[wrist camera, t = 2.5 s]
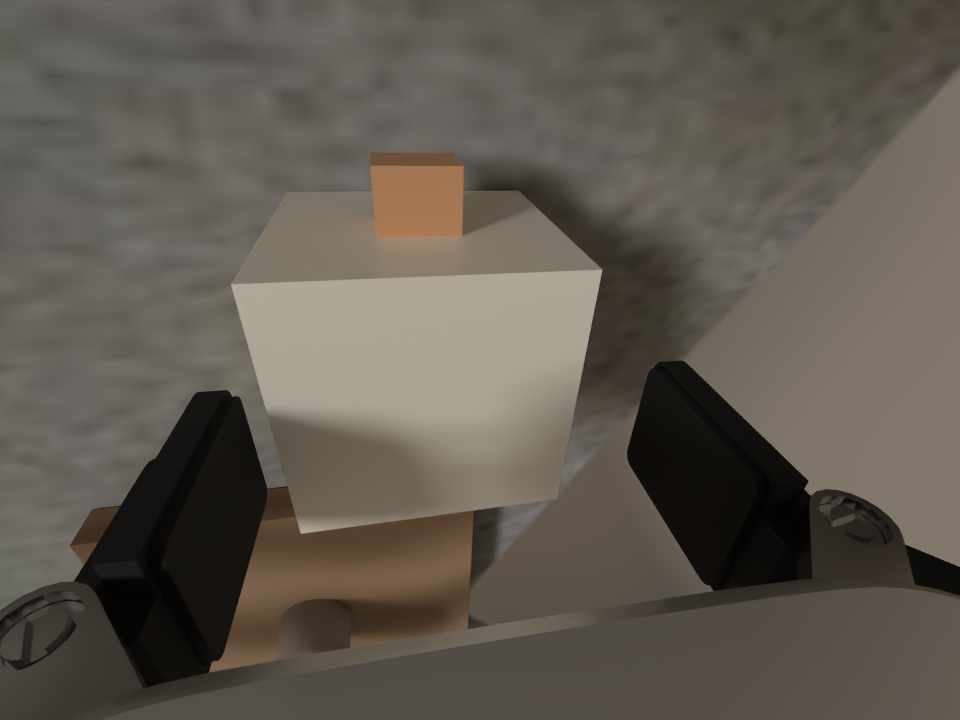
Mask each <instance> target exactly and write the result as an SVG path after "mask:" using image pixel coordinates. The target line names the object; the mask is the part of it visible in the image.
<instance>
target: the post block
mask: <svg viewBox="0 0 960 720" xmlns="http://www.w3.org/2000/svg"><path fill="white" fill-rule="evenodd" d="M119 508H120V507H112V508H103V509H95V510H91V512H90V514H89V515H88V517H87V518H86V520H85V522H84V523H83V525H82V527H81V528H80V530H79V532H78V533H77V535H76V536H75V538H74V540H73V541H72V543H71V545H70V547H71V548H72V549H73V551H74V552H75V553H76V555H77V556H78V558H79V559H80V560H81V562H82V563H83V564H85V563H86V561H87V560H88V558H89V556H90V555H91V553H92V551H93V550H94V548H95V547H96V545H97V543H98V542H99V540H100V539H101V537H102V535H103V534H104V532H105V530H106V529H107V527H108V526H109V524H110V522H111V521H112V519H113V518H114V516H115V514H116V513H117V511H118V509H119ZM473 516H474V510H473V511H466V512H458V513H451V514H443V515H436V516H429V517H421V518H414V519H406V520H399V521H392V522H384V523H377V524H369V525H362V526H355V527H347V528H340V529H332V530H325V531H318V532H310V533H303V534H301V533H300V529H299V526H298V522H297V519H296V515H295V511H294V508H293V504H292V501H291V497H290V494H289V490H288V487H283V488H275V489H267V502H266V506H265V509H264V513H263V516H262V520H261V523H260V527H259V531H258V534H257V538H256V541H255V545H254V548H253V552H252V555H251V559H250V562H249V566H248V569H247V573H246V576H245V580H244V584H243V587H242V591H241V594H240V598H239V601H238V605H237V608H236V612H235V615H234V619H233V622H232V626H231V629H230V633H229V637H228V640H227V644H226V647H225V650H224V653H223V655H222V657H221V659H220V660H219V661H213V662H212V664H211V667H210V671H209V673H210V672H215V671H220V670H226V669H231V668H237V667H243V666H248V665H254V664H259V663H265V662H271V661H276V660H282V659H287V658H293V657H299V656H304V655H310V654H316V653H322V652H328V651H334V650H340V649H347V648H353V647H359V646H365V645H371V644H378V643H384V642H390V641H396V640H402V639H409V638H415V637H421V636H427V635H433V634H440V633H446V632H452V631H458V630H465V629H468V615H469V595H470V575H471V555H472V535H473Z"/></svg>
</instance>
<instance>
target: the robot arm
mask: <svg viewBox="0 0 960 720" xmlns="http://www.w3.org/2000/svg"><path fill="white" fill-rule="evenodd" d="M627 458H628V462H629V464H630V466H631V468H632V470H633V471H634V473H635V474H636V476H637V478H638V479H639V481H640V482H641V484H642V486H643V487H644V489H645V490H646V492H647V494H648V495H649V497H650V499H651V500H652V502H653V503H654V505H655V507H656V508H657V510H658V511H659V513H660V515H661V516H662V518H663V520H664V521H665V523H666V524H667V526H668V527H669V529H670V531H671V533H672V534H673V535H674V537H675V539H676V541H677V542H678V544H679V545H680V547H681V549H682V550H683V552H684V553H685V555H686V557H687V558H688V560H689V562H690V563H691V565H692V566H693V568H694V570H695V571H696V573H697V574H698V576H699V578H700V579H701V580H702V582H703V583H705V584H706V585H710V586H711V588H712V589H713V591H712V592H706V593H699V594H692V595H686V596H679V597H673V598H666V599H659V600H652V601H646V602H639V603H633V604H626V605H619V606H613V607H606V608H599V609H593V610H587V611H580V612H574V613H567V614H561V615H554V616H548V617H542V618H535V619H529V620H522V621H516V622H509V623H503V624H497V625H490V626H484V627H477V628H471V629H465V630H458V631H452V632H446V633H440V634H433V635H427V636H421V637H415V638H409V639H402V640H396V641H390V642H384V643H378V644H371V645H365V646H359V647H353V648H347V649H340V650H334V651H328V652H322V653H316V654H310V655H304V656H299V657H293V658H287V659H282V660H276V661H271V662H265V663H259V664H254V665H248V666H243V667H237V668H231V669H226V670H220V671H215V672H210V673H209V671H210V667H211V664H212V662H213V661H219V660H220V659H221V657H222V655H223V653H224V650H225V647H226V644H227V640H228V637H229V633H230V629H231V626H232V622H233V619H234V615H235V612H236V608H237V605H238V601H239V598H240V594H241V591H242V587H243V584H244V580H245V576H246V573H247V569H248V566H249V562H250V559H251V555H252V552H253V548H254V545H255V541H256V538H257V534H258V531H259V527H260V523H261V520H262V516H263V513H264V509H265V506H266V502H267V486H266V482H265V479H264V475H263V472H262V469H261V465H260V462H259V459H258V455H257V452H256V448H255V445H254V442H253V438H252V435H251V432H250V428H249V425H248V421H247V418H246V415H245V411H244V408H243V404H242V401H241V399H240V398H239V397H238V396H235V397H232V395H231V394H230V392H229V391H227V390H223V391H207V392H198V393H196V394H195V395H194V396H193V398H192V399H191V401H190V403H189V404H188V406H187V407H186V409H185V411H184V412H183V414H182V416H181V417H180V419H179V421H178V422H177V424H176V426H175V427H174V429H173V431H172V432H171V434H170V436H169V437H168V439H167V441H166V442H165V444H164V446H163V447H162V449H161V451H160V452H159V454H158V456H157V457H156V459H153V460H152V461H150V462H149V463H148V464H147V465H146V466H145V468H144V469H143V471H142V472H141V474H140V475H139V477H138V479H137V480H136V482H135V484H134V485H133V487H132V488H131V490H130V492H129V493H128V495H127V496H126V498H125V500H124V501H123V503H122V505H121V506H120V508H119V509H118V511H117V513H116V514H115V516H114V518H113V519H112V521H111V522H110V524H109V526H108V527H107V529H106V530H105V532H104V534H103V535H102V537H101V539H100V540H99V542H98V543H97V545H96V547H95V548H94V550H93V551H92V553H91V555H90V556H89V558H88V560H87V561H86V563H85V564H84V566H83V568H82V569H81V571H80V572H79V574H78V576H77V577H76V579H75V581H74V582H59V583H56V584H52V585H48V586H45V587H41V588H39V589H37V590H35V591H33V592H30V593H28V594H26V595H24V596H22V597H20V598H18V599H17V600H15V601H14V602H12V603H11V604H9V605H8V606H6V607H5V608H3V609H1V610H0V720H960V567H958V566H956V565H953V564H951V563H949V562H946V561H944V560H941V559H939V558H937V557H934V556H932V555H929V554H927V553H924V552H922V551H920V550H917V549H915V548H912V547H910V546H907V545H905V543H904V539H903V536H902V534H901V531H900V529H899V527H898V526H897V525H896V524H895V522H894V521H893V520H892V519H891V518H890V517H889V516H888V515H887V514H886V513H884V512H883V511H882V510H881V509H879V508H878V507H877V506H875V505H873V504H871V503H870V502H868V501H866V500H864V499H862V498H860V497H857V496H855V495H853V494H850V493H846V492H843V491H839V490H829V489H825V490H821V491H816V492H815V493H814V494H813V495H811V496H810V495H809V494H808V493H807V492H806V491H805V490H804V488H805V487H806V485H807V483H808V480H807V479H806V478H805V477H804V476H803V475H802V474H801V473H799V471H798V470H796V469H795V467H793V466H792V465H791V464H790V463H789V462H788V461H787V460H786V459H785V458H784V457H783V456H782V455H781V454H780V453H779V452H778V451H777V450H776V449H775V448H774V447H773V446H772V445H771V444H770V443H769V442H768V441H766V439H765V438H763V437H762V436H761V435H760V434H759V433H758V432H757V431H756V430H755V429H754V428H753V427H752V426H751V425H750V424H749V423H748V422H747V421H746V420H745V419H744V418H743V417H742V416H741V415H740V414H739V413H738V412H736V411H735V410H734V409H733V408H732V407H731V406H730V405H729V404H728V403H727V402H726V401H725V400H724V399H723V398H722V397H721V396H720V395H719V394H718V393H717V392H716V391H715V390H714V389H713V388H712V387H711V386H710V385H709V384H708V383H707V382H706V381H704V380H703V379H702V378H701V377H700V376H699V375H698V374H697V373H696V372H695V371H694V370H693V369H692V368H691V367H690V366H689V365H688V364H687V363H686V362H684V361H668V362H659V363H657V364H656V366H655V368H653V369H651V370H650V371H649V373H648V376H647V380H646V384H645V387H644V391H643V395H642V398H641V402H640V406H639V409H638V413H637V417H636V420H635V424H634V428H633V431H632V435H631V439H630V443H629V446H628V450H627Z"/></svg>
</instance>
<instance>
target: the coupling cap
mask: <svg viewBox="0 0 960 720" xmlns="http://www.w3.org/2000/svg"><path fill="white" fill-rule="evenodd" d="M370 169H371V181H372V191H347V192H287V193H286V195H285V196H284V198H283V200H282V201H281V203H280V205H279V206H278V208H277V210H276V211H275V213H274V214H273V216H272V218H271V219H270V221H269V223H268V224H267V226H266V228H265V229H264V231H263V233H262V234H261V236H260V238H259V239H258V241H257V242H256V244H255V246H254V247H253V249H252V251H251V252H250V254H249V256H248V257H247V259H246V261H245V262H244V264H243V266H242V267H241V269H240V270H239V272H238V274H237V275H236V277H235V279H234V280H233V282H232V284H231V286H232V290H233V293H234V297H235V300H236V304H237V308H238V311H239V315H240V318H241V322H242V325H243V329H244V333H245V336H246V340H247V343H248V347H249V350H250V354H251V358H252V361H253V365H254V368H255V372H256V375H257V379H258V383H259V386H260V390H261V393H262V397H263V401H264V404H265V408H266V411H267V415H268V418H269V422H270V426H271V429H272V433H273V436H274V440H275V443H276V447H277V451H278V454H279V458H280V461H281V465H282V469H283V472H284V476H285V479H286V483H287V486H288V490H289V494H290V497H291V501H292V504H293V508H294V511H295V515H296V519H297V522H298V526H299V529H300V533H301V534H303V533H310V532H318V531H325V530H332V529H340V528H347V527H355V526H362V525H369V524H377V523H384V522H392V521H399V520H406V519H414V518H421V517H429V516H436V515H443V514H451V513H458V512H466V511H473V510H480V509H488V508H495V507H503V506H510V505H517V504H525V503H532V502H540V501H547V500H554V499H557V496H558V491H559V486H560V481H561V476H562V471H563V466H564V461H565V456H566V451H567V446H568V441H569V436H570V430H571V425H572V420H573V415H574V410H575V405H576V400H577V395H578V390H579V385H580V380H581V375H582V370H583V365H584V360H585V355H586V350H587V345H588V340H589V335H590V330H591V325H592V320H593V315H594V310H595V305H596V300H597V295H598V290H599V285H600V279H601V274H602V269H601V268H600V267H599V266H598V265H597V264H596V263H595V262H594V261H593V260H592V259H591V258H590V257H588V256H587V255H586V254H585V253H584V252H583V251H582V250H581V249H580V248H579V247H578V246H577V245H576V244H575V243H574V242H573V241H571V240H570V239H569V238H568V237H567V236H566V235H565V234H564V233H563V232H562V231H561V230H560V229H559V228H558V227H557V226H556V225H554V224H553V223H552V222H551V221H550V220H549V219H548V218H547V217H546V216H545V215H544V214H543V213H542V212H541V211H540V210H539V209H537V208H536V207H535V206H534V205H533V204H532V203H531V202H530V201H529V200H528V199H527V198H526V197H525V196H524V195H523V194H522V193H521V192H519V191H463V169H464V166H463V165H462V164H461V162H460V161H459V160H458V159H457V157H456V156H455V155H454V154H453V153H370Z"/></svg>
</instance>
